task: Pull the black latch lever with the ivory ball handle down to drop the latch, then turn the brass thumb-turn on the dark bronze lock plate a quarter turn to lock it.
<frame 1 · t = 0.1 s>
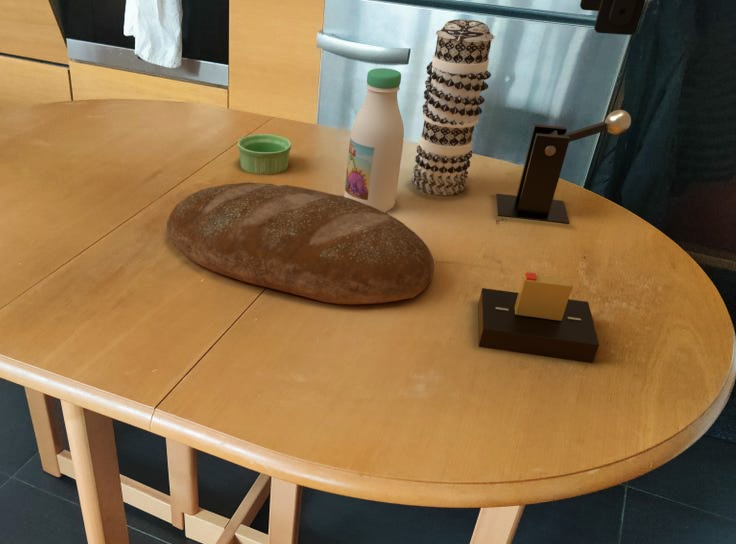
hand: (605, 20, 63), 33 cm above the table, tool pointing down, fingers open, 9 cm apart
ramekin: (264, 169, 122), on the table
lock plate: (530, 336, 82), on the table
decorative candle: (436, 192, 115), on the table
latch bracket: (529, 214, 108), on the table
latch lever: (583, 132, 100), point 13 cm above the table, hinge at 25.0°
bread: (293, 260, 96), on the table
lock knob: (543, 296, 79), point 5 cm above the table, hinge at 0.0°
milk bottle: (368, 208, 110), on the table
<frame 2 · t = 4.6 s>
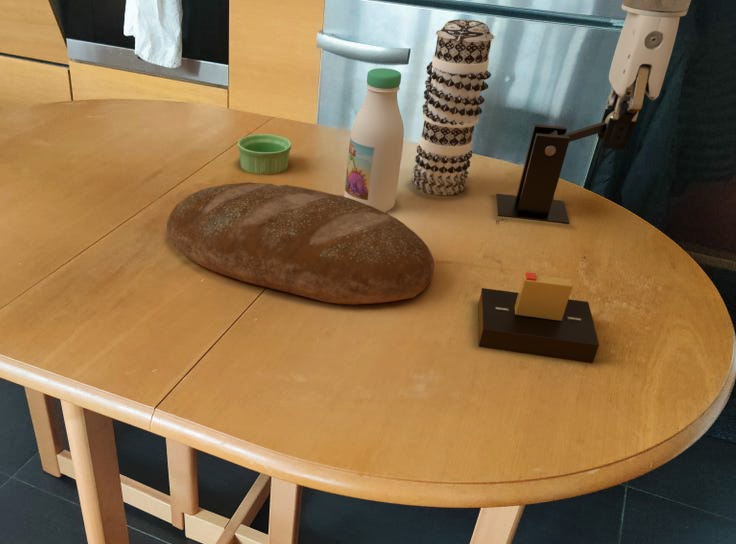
hand: (611, 142, 100), 12 cm above the table, tool pointing down, fingers closed on latch lever, 3 cm apart
latch lever: (583, 132, 100), point 13 cm above the table, hinge at 25.0°, touching gripper
everything else where it was.
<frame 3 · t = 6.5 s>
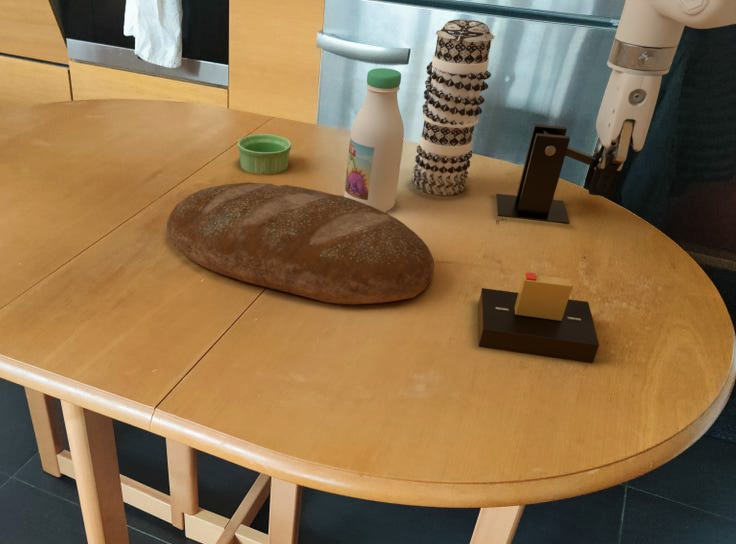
hand: (598, 188, 104), 5 cm above the table, tool pointing down, fingers closed on latch lever, 3 cm apart
latch lever: (578, 155, 102), point 10 cm above the table, hinge at -16.6°, touching gripper
everything else where it was.
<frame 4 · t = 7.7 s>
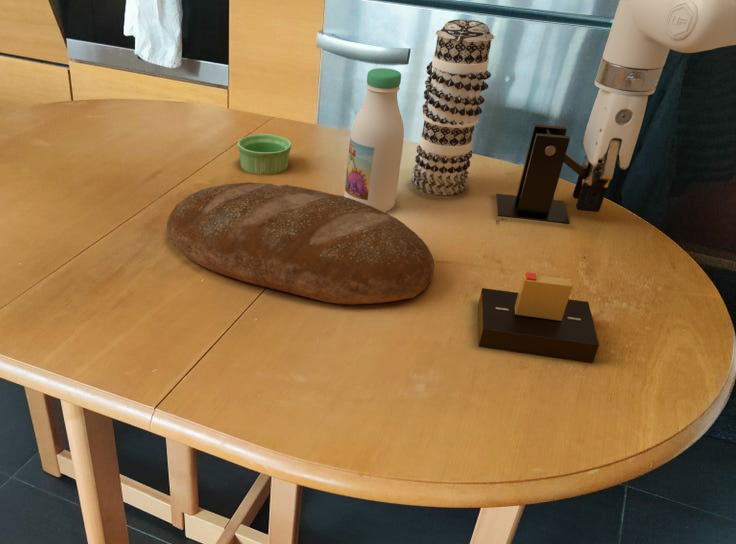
hand: (585, 203, 105), 3 cm above the table, tool pointing down, fingers closed on latch lever, 3 cm apart
latch lever: (572, 163, 102), point 8 cm above the table, hinge at -32.9°, touching gripper
everything else where it was.
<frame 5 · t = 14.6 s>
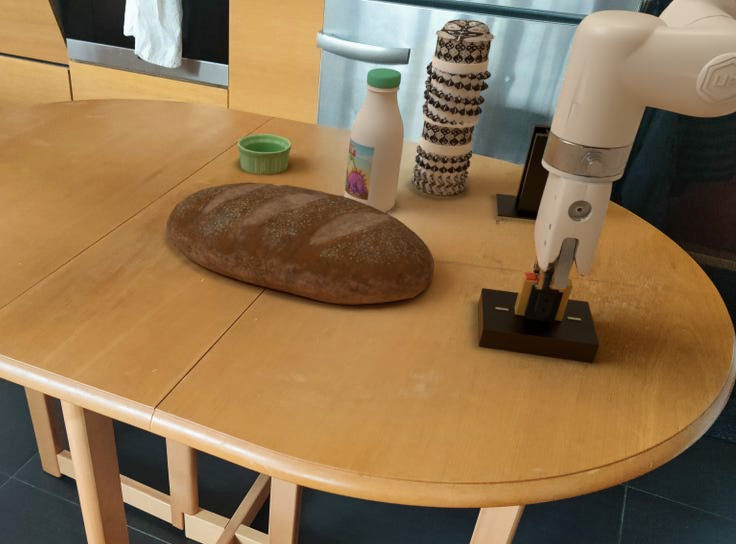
hand: (538, 312, 80), 3 cm above the table, tool pointing down, fingers closed on lock knob
latch lever: (573, 162, 102), point 9 cm above the table, hinge at -30.6°
lock knob: (543, 296, 79), point 5 cm above the table, hinge at 0.0°, touching gripper
everything else where it was.
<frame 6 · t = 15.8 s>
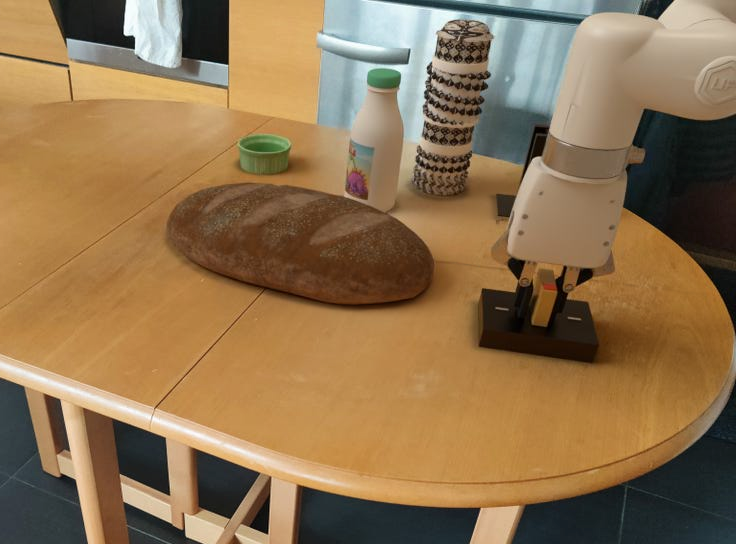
hand: (535, 312, 80), 3 cm above the table, tool pointing down, fingers closed
lock knob: (543, 296, 79), point 5 cm above the table, hinge at 90.0°
everything else where it was.
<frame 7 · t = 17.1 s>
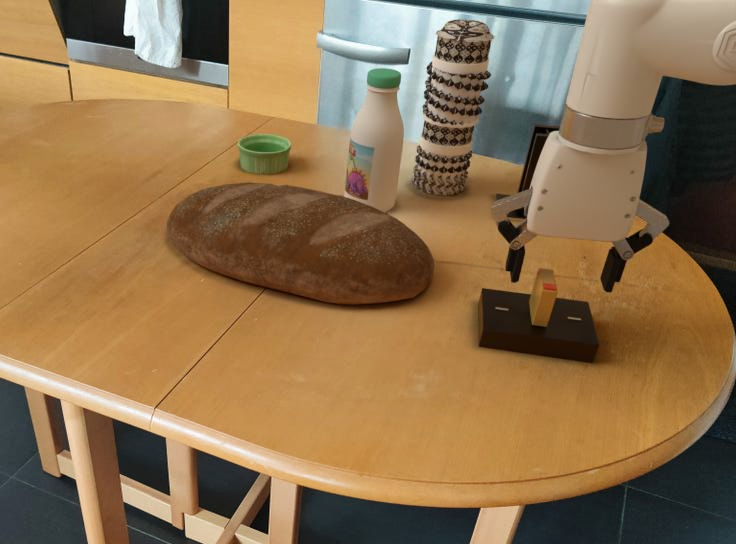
hand: (559, 281, 79), 7 cm above the table, tool pointing down, fingers open, 9 cm apart
nothing on the table moved.
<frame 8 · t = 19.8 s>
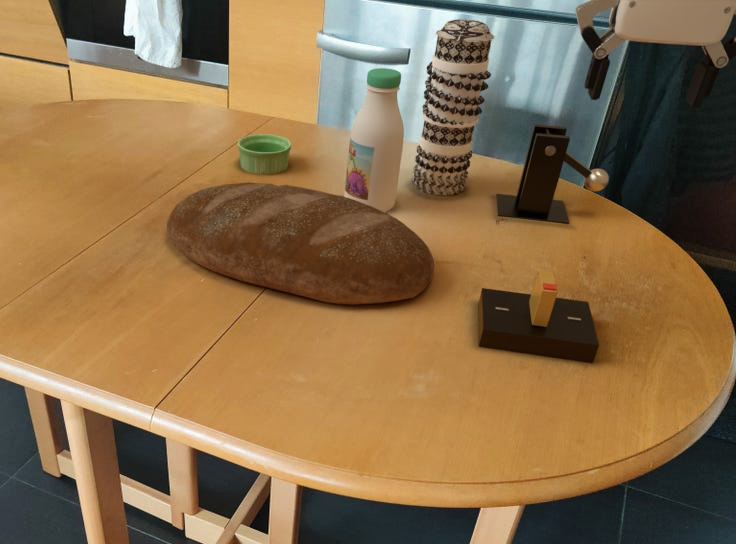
hand: (641, 100, 74), 24 cm above the table, tool pointing down, fingers open, 9 cm apart
nothing on the table moved.
at the end: latch lever at -31° (first picture: +25°); lock knob at +90° (first picture: +0°) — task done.
